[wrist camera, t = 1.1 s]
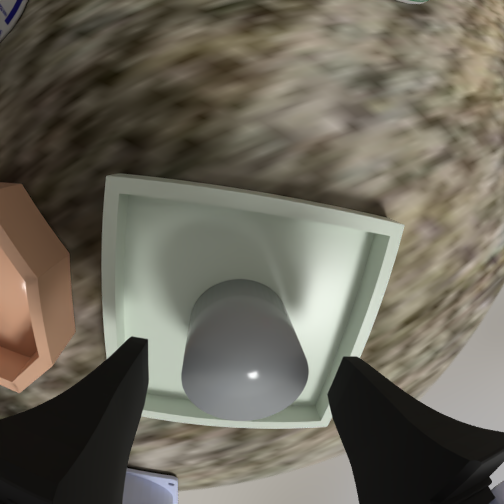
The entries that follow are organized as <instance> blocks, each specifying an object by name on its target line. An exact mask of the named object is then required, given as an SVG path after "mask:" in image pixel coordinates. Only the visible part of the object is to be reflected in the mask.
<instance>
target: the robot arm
mask: <svg viewBox="0 0 504 504" xmlns="http://www.w3.org/2000/svg"><path fill="white" fill-rule="evenodd" d="M148 384H149V367H148V339H145V338H139V337H133V336H131V337H130V338H128V339H127V340H126V341H125V342H124V343H123V344H122V345H121V346H120V347H119V348H118V349H117V350H116V351H115V352H114V353H113V354H112V355H111V356H110V357H109V358H107V359H106V360H105V361H104V362H103V363H102V364H101V365H99V366H98V367H97V368H96V369H95V370H94V371H92V372H91V373H90V374H88V375H87V376H86V377H85V378H83V379H82V380H81V381H79V382H78V383H77V384H75V385H74V386H72V387H71V388H69V389H68V390H66V391H65V392H63V393H61V394H60V395H58V396H56V397H55V398H53V399H51V400H49V401H47V402H45V403H43V404H41V405H39V406H37V407H34V408H32V409H30V410H27V411H25V412H22V413H19V414H17V415H14V416H11V417H7V418H4V419H0V504H178V479H177V478H176V477H175V476H170V475H164V474H157V473H151V472H145V471H140V470H135V469H130V468H127V464H128V459H129V455H130V451H131V447H132V444H133V441H134V437H135V434H136V431H137V428H138V424H139V421H140V418H141V415H142V411H143V408H144V405H145V400H146V395H147V389H148ZM327 396H328V401H329V406H330V410H331V414H332V417H333V420H334V423H335V425H336V428H337V430H338V433H339V435H340V438H341V440H342V443H343V445H344V448H345V450H346V453H347V455H348V458H349V460H350V464H351V467H352V471H353V475H354V479H355V483H356V488H357V493H358V498H359V504H504V481H502V482H501V483H500V484H498V485H497V486H495V487H494V488H493V489H492V490H490V488H489V487H488V486H489V485H490V484H491V483H492V480H491V479H490V477H489V476H490V475H491V474H492V473H493V472H494V471H495V470H496V469H497V468H498V467H499V466H500V465H501V464H502V463H503V462H504V432H499V431H493V430H488V429H483V428H479V427H476V426H472V425H469V424H466V423H463V422H460V421H457V420H455V419H453V418H450V417H448V416H446V415H443V414H441V413H439V412H437V411H435V410H433V409H432V408H430V407H428V406H426V405H424V404H423V403H421V402H419V401H418V400H416V399H415V398H413V397H412V396H410V395H409V394H407V393H406V392H404V391H403V390H402V389H400V388H399V387H397V386H396V385H395V384H393V383H392V382H391V381H389V380H388V379H387V378H385V377H384V376H383V375H382V374H380V373H379V372H378V371H376V370H375V369H374V368H373V367H371V366H370V365H369V364H367V363H366V362H364V361H363V360H362V359H360V358H359V357H357V356H343V358H342V361H341V363H340V366H339V368H338V371H337V373H336V375H335V378H334V380H333V382H332V385H331V387H330V389H329V391H328V394H327Z"/></svg>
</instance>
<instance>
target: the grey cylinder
mask: <svg viewBox="0 0 504 504" xmlns="http://www.w3.org/2000/svg"><path fill="white" fill-rule="evenodd" d="M308 374H309V368H308V362H307V359H306V357H305V354H304V352H303V349H302V347H301V345H300V342H299V340H298V337H297V335H296V332H295V330H294V328H293V325H292V323H291V320H290V318H289V315H288V313H287V311H286V308H285V306H284V304H283V302H282V300H281V299H280V297H279V296H278V295H277V294H276V293H275V292H274V291H273V290H272V289H271V288H269V287H267V286H266V285H264V284H262V283H259V282H256V281H253V280H247V279H233V280H227V281H223V282H220V283H218V284H216V285H213V286H212V287H210V288H209V289H207V290H206V291H205V292H203V293H202V294H201V296H200V297H199V298H198V299H197V301H196V302H195V304H194V306H193V308H192V311H191V315H190V321H189V327H188V333H187V340H186V346H185V353H184V359H183V366H182V373H181V381H182V386H183V389H184V391H185V393H186V395H187V397H188V398H189V399H190V401H191V402H192V403H193V404H194V405H195V406H197V407H198V408H199V409H201V410H202V411H204V412H206V413H207V414H210V415H212V416H214V417H217V418H221V419H225V420H232V421H251V420H258V419H262V418H266V417H269V416H271V415H274V414H276V413H278V412H280V411H282V410H284V409H285V408H287V407H288V406H289V405H291V404H292V403H293V402H294V401H295V400H296V399H297V398H298V397H299V396H300V394H301V393H302V391H303V390H304V388H305V386H306V383H307V380H308Z"/></svg>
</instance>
